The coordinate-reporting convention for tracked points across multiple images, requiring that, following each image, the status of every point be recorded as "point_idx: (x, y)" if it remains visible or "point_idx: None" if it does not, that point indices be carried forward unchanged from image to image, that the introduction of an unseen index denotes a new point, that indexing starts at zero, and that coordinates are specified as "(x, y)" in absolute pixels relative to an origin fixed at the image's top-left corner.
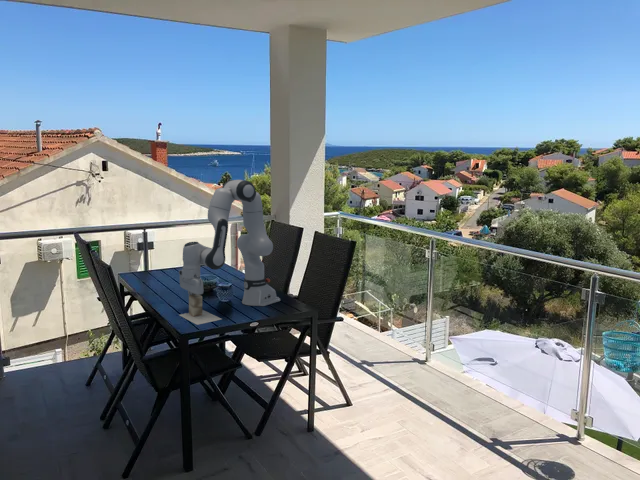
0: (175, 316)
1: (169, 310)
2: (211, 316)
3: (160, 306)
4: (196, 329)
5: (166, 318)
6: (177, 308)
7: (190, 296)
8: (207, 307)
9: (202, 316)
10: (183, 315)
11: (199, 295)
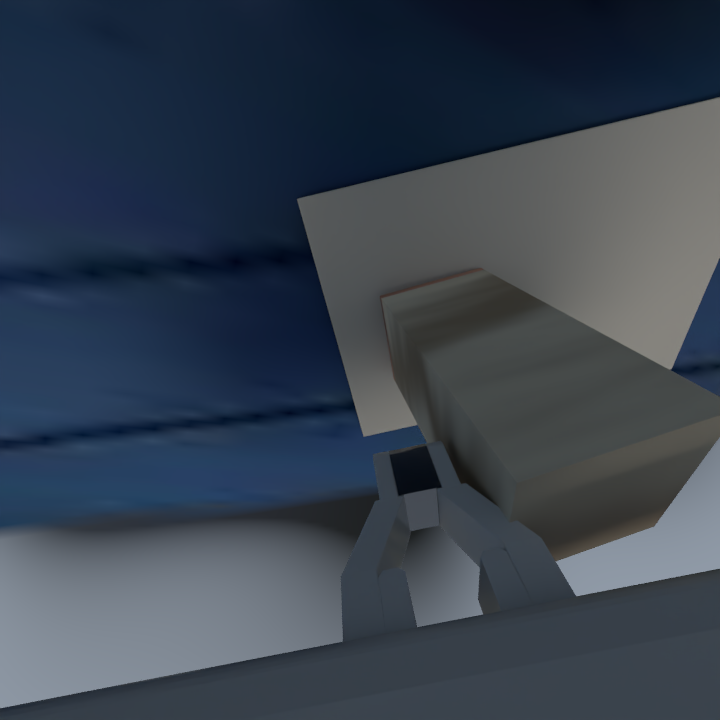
0: (358, 444)
1: (183, 460)
2: (598, 184)
3: (51, 497)
4: (706, 378)
5: (374, 486)
6: (127, 409)
7: (554, 559)
8: (115, 60)
9: (527, 279)
10: (399, 411)
11: (644, 453)
